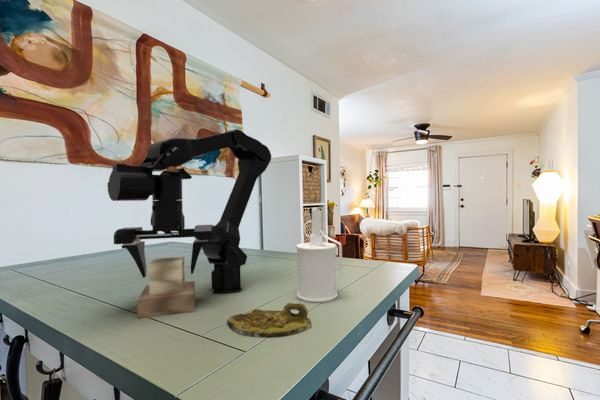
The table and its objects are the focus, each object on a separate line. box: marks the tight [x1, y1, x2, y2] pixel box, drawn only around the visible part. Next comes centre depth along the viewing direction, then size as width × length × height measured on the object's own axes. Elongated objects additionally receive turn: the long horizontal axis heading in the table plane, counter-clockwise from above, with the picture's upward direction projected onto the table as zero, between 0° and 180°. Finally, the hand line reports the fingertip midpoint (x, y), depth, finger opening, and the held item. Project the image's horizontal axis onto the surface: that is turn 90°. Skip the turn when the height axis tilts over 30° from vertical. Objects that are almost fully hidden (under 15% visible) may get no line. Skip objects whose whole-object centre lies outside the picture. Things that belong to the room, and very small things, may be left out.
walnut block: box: [137, 280, 196, 320], centre depth 63 cm, size 10×10×4 cm
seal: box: [226, 302, 312, 339], centre depth 52 cm, size 9×5×15 cm
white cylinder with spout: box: [295, 207, 343, 303], centre depth 68 cm, size 10×9×20 cm
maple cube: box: [148, 256, 186, 295], centre depth 63 cm, size 6×6×6 cm
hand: (168, 275), depth 63 cm, fingers open, 9 cm apart
